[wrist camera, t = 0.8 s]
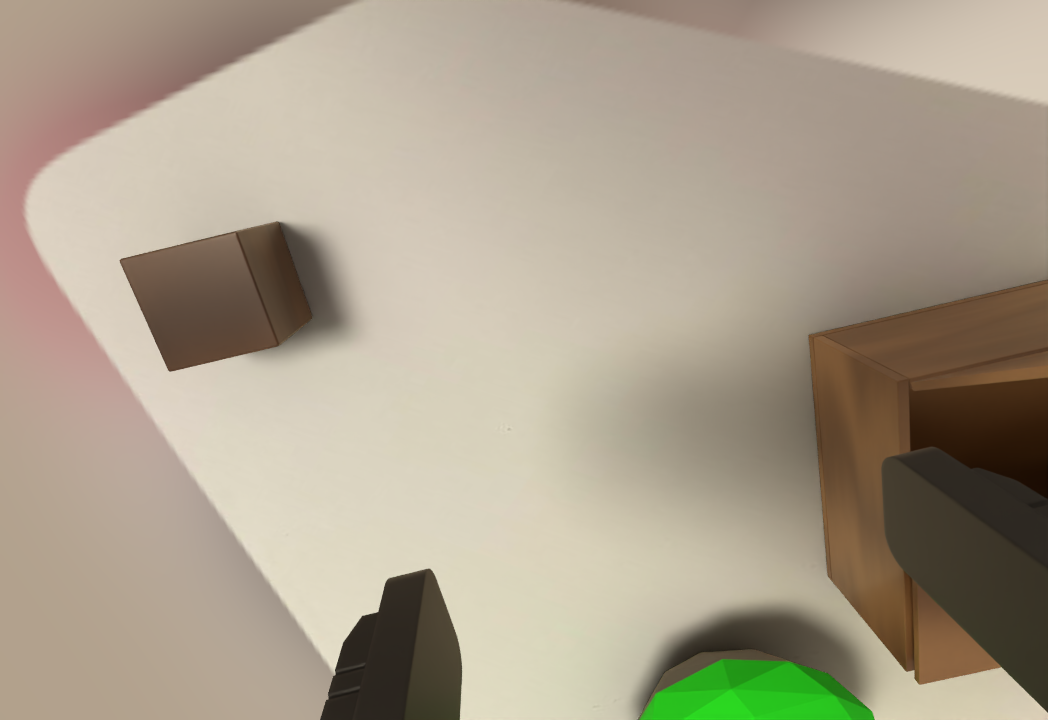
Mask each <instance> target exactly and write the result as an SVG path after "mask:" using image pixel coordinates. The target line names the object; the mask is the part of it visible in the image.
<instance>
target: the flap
mask: <svg viewBox="0 0 1048 720" xmlns="http://www.w3.org/2000/svg"><path fill="white" fill-rule="evenodd" d="M1040 378H1048V351H1045V352H1041V353H1037V354H1032V355H1028V356H1024V357H1019V358H1015V359H1010V360H1006V361H1002V362H997V363H993V364H989V365H984V366H980V367H975V368H971V369H967V370H962V371H958V372H954V373H949V374H945V375H941V376H936V377H932V378H927V379H923V380H919V381H914V382H911V385H912V388H913V391H920V390H930V389H940V388H950V387H960V386H970V385H980V384H990V383H1000V382H1010V381H1020V380H1030V379H1040Z"/></svg>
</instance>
